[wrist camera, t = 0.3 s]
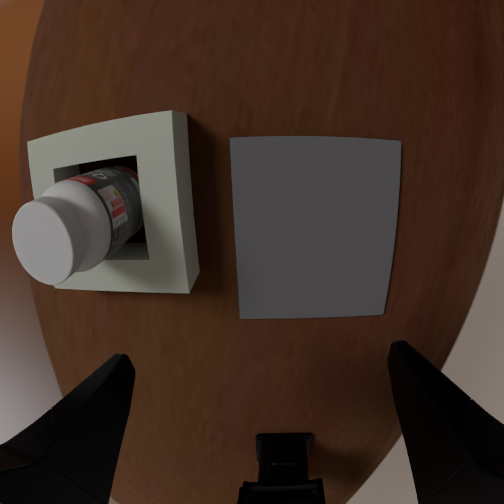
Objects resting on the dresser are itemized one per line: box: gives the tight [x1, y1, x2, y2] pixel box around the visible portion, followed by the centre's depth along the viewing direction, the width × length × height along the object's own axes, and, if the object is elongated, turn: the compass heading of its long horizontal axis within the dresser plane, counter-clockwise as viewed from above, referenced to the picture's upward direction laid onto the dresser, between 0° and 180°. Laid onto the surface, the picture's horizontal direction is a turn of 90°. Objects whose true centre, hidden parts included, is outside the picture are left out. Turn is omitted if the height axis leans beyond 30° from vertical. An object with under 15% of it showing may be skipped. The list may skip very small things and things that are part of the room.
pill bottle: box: [12, 166, 144, 285], centre depth 18 cm, size 6×6×10 cm
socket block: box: [27, 110, 200, 293], centre depth 21 cm, size 12×12×4 cm
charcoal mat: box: [230, 136, 401, 319], centre depth 22 cm, size 14×12×1 cm
